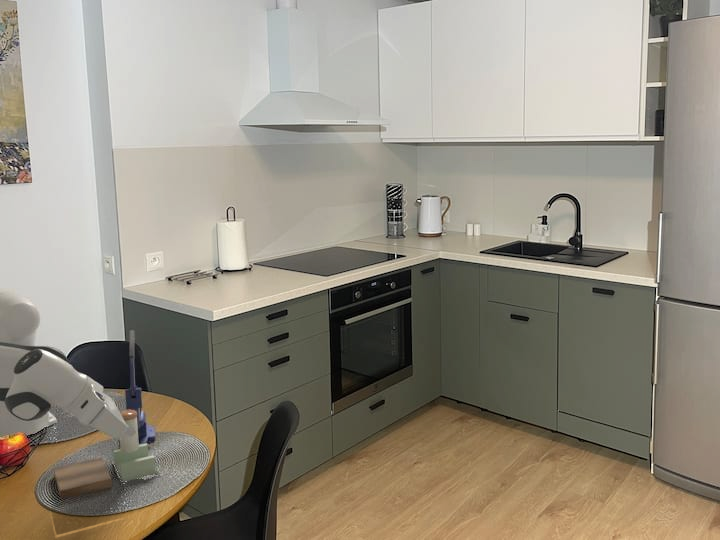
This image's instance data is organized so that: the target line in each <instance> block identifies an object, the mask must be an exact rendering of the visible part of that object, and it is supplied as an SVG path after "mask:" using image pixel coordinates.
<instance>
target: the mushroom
mask: <svg viewBox="0 0 720 540" xmlns="http://www.w3.org/2000/svg"><path fill="white" fill-rule="evenodd" d="M119 412H120V413H121V415H122V417H123V419H124V420H125V422H126V424H127V425H129V426H132V427H133V428H134V429H135V430H136V433H135V434H134V436H132V437H130V436H129V435H127V434H125V433H124V434H123V436H122V437H121V438H120V439H119V444H120V445H119V446H120V448H119V449H121V451H122V452H125V453H129V452H134V451H136V450H138V449H139V440H138V427H137V411H135V410H130V409H125V410H121V411H119Z"/></svg>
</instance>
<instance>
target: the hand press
mask: <svg viewBox="0 0 720 540" xmlns="http://www.w3.org/2000/svg"><path fill="white" fill-rule="evenodd" d="M135 335H136V334H135V330H129V373H130V375H129V376H130V377H129V378H130V386H129V388H125V389H124V390H125V391H124V395H125V406H126V409H125V410H135V411H137V427H138V440H139V445H141V444H145V443H147V445H148V446H149V445H151V442H154V441H156V429H155V426H153V425H152V424H149V423H147V414H146V412H145V411H143V410H142V408H143V396H142V393H143V391H142V387H138V386H137V385H136V378H135V377H136V375H135V340H136V338H135ZM148 441H149V442H148Z"/></svg>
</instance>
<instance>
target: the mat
mask: <svg viewBox="0 0 720 540" xmlns="http://www.w3.org/2000/svg"><path fill="white" fill-rule="evenodd" d="M156 470H157V474H155V475H158V476H154V477H152V478H151V479H149V478H148V479H146V480H144V479H142V478H141V479H139V478H138V479H133V480H129V481H127V482H121V481H122V480H121V479H120V478H119V479H118V481H119V483H120V486H121V487H122V488H123V487H126V486H131V485H135V484H137V483H138V484H139V483H142V482H145V481H146V482H147V481H150V480H154V479H159V478H161V477H162V476H161V474H160V473H159V471H158V469H157V468H156ZM120 480H121V481H120ZM123 483H125V484H123Z"/></svg>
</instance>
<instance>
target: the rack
mask: <svg viewBox="0 0 720 540" xmlns="http://www.w3.org/2000/svg"><path fill="white" fill-rule="evenodd" d="M148 455H149V444H148V445H147V443H145V444H141V445H139V449H138V450H136V451H134V452H129V453H125V452H122V451H121V448H119V449H118V448H117V449H114V450H113V461H114V465H115V467H116V469H117V471H118V474H119V476H120V478H121V480H122V482H125V481H129V480H133V479H137V478H141V477H144V476H147V475H153V474H157V471H158V469H157V468H156V467H157V466H156V465H157V464H156V456H155V455H149V456H148ZM156 469H157V470H156Z"/></svg>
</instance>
